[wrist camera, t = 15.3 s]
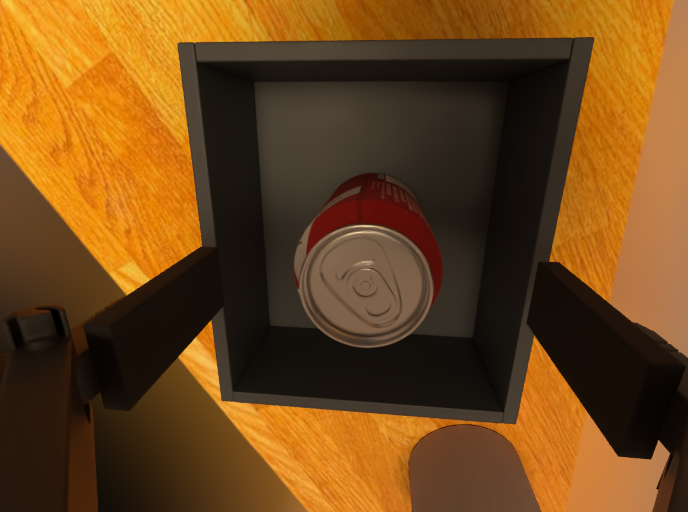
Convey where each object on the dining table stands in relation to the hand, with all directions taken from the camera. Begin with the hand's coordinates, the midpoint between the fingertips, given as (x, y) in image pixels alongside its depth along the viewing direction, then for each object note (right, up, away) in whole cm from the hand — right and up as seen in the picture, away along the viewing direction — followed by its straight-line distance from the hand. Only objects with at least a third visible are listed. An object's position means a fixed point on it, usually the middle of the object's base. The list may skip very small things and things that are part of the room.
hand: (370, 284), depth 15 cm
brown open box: (+1, +4, +12) cm, 13 cm away
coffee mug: (+10, -20, +20) cm, 30 cm away
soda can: (+1, +4, +11) cm, 12 cm away
